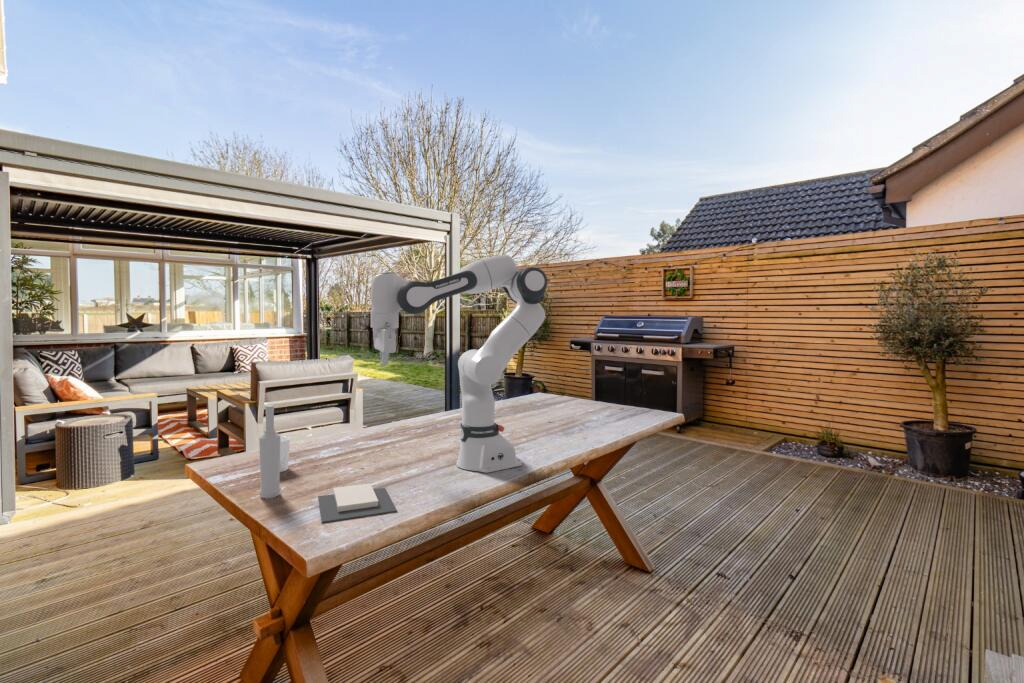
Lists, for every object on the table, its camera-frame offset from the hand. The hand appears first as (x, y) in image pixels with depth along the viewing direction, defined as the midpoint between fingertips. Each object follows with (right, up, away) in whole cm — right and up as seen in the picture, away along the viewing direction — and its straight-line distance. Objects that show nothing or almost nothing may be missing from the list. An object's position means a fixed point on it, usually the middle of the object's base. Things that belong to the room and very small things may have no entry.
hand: (384, 364), depth 156 cm
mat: (0, -36, -29) cm, 46 cm away
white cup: (-34, -34, -2) cm, 48 cm away
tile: (-4, -34, -20) cm, 40 cm away
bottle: (-25, -35, -24) cm, 49 cm away
